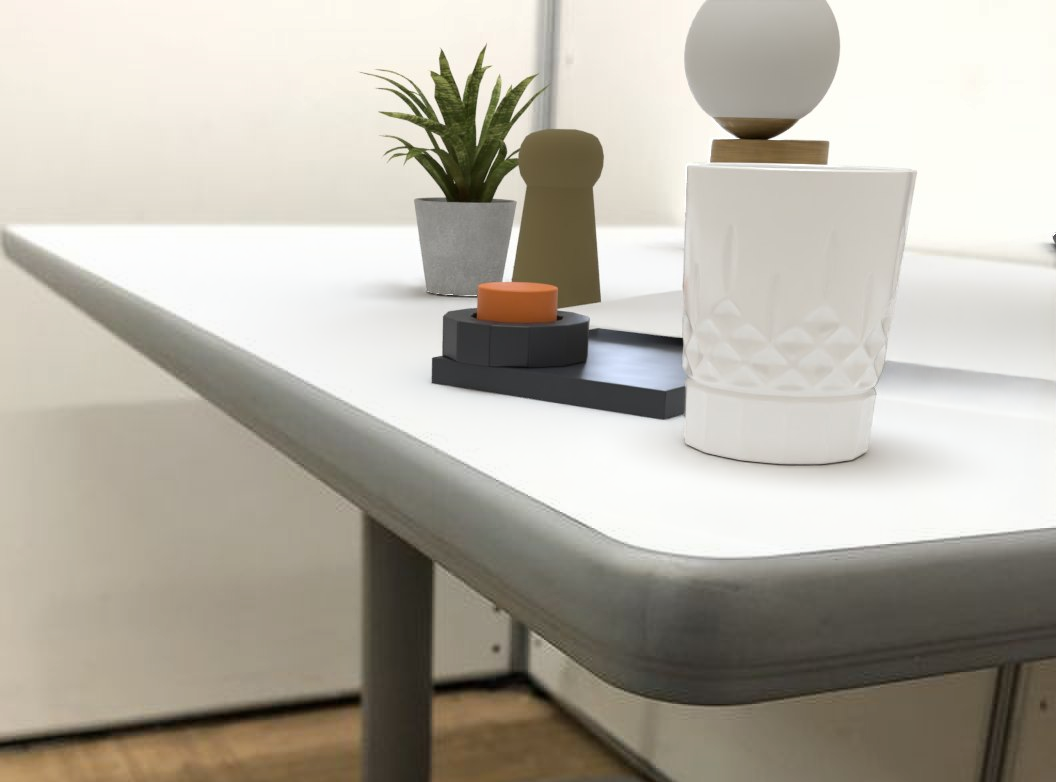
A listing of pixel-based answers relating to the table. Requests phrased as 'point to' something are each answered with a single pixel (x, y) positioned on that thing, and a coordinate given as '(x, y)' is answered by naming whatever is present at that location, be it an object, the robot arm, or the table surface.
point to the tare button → (517, 302)
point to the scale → (563, 363)
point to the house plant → (463, 180)
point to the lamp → (762, 75)
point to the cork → (560, 214)
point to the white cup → (788, 305)
